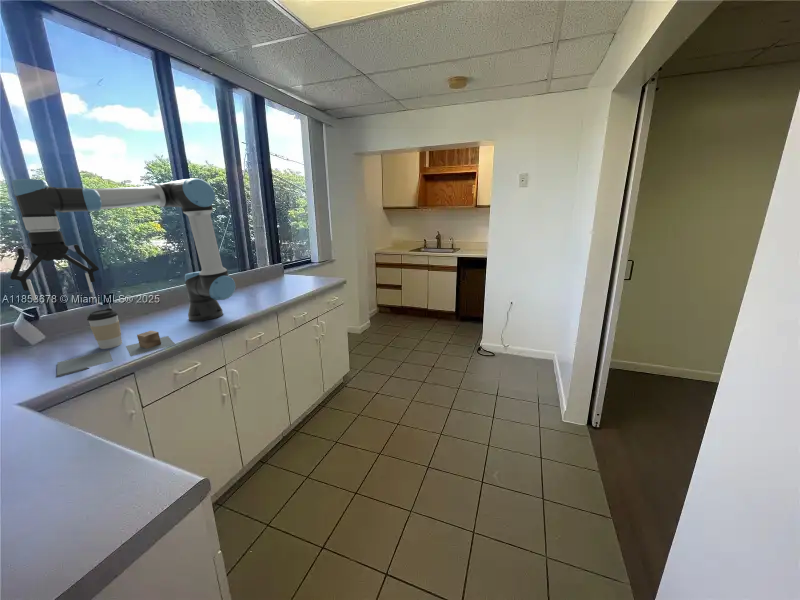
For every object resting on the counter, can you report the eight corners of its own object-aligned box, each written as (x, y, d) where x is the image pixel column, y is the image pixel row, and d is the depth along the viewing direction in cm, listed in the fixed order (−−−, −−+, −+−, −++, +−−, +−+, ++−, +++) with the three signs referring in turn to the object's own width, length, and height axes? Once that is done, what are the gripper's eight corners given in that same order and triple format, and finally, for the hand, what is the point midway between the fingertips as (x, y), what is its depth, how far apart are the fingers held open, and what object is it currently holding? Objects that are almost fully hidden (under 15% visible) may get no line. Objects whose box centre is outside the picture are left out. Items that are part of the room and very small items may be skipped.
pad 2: (168, 337, 138) (167, 336, 138) (176, 346, 128) (175, 344, 128) (126, 347, 129) (125, 346, 128) (131, 357, 119) (130, 356, 119)
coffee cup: (108, 351, 125) (97, 314, 121) (90, 350, 127) (78, 313, 123) (131, 342, 133) (122, 307, 129) (114, 341, 135) (104, 307, 131)
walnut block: (153, 342, 132) (150, 330, 130) (161, 343, 130) (158, 332, 128) (140, 346, 127) (136, 334, 126) (147, 348, 125) (144, 336, 124)
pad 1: (109, 351, 125) (109, 350, 125) (113, 362, 116) (112, 360, 115) (58, 363, 116) (57, 362, 116) (57, 376, 106) (56, 375, 106)
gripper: (96, 228, 115) (112, 287, 120) (-16, 233, 98) (9, 301, 103) (97, 228, 109) (114, 290, 115) (-20, 234, 92) (6, 305, 98)
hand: (64, 295), depth 109 cm, fingers open, 13 cm apart
